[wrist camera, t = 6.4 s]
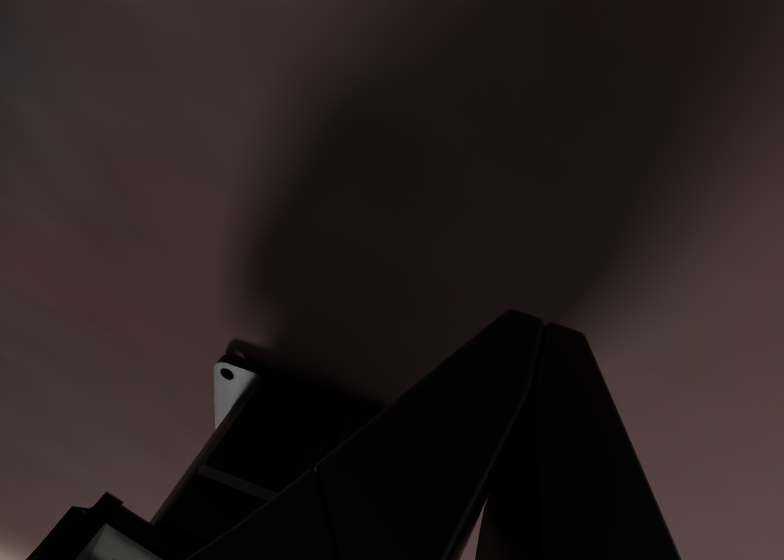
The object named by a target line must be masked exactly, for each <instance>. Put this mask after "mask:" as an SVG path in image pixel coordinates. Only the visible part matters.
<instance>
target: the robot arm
mask: <svg viewBox="0 0 784 560" xmlns="http://www.w3.org/2000/svg"><path fill="white" fill-rule="evenodd" d="M544 326H545V327H544ZM214 401H215V432H214V433H213V435H212V436H211V437H210V439H209V440H208V442H207V443H206V444H205V446H204V447H203V448H202V450H201V451H200V453H199V454H198V455H197V457H196V458H195V460H194V461H193V462H192V464H191V465H190V467H189V468H188V469H187V471H186V472H185V474H184V475H183V476H182V478H181V479H180V481H179V482H178V483H177V485H176V486H175V488H174V489H173V490H172V492H171V493H170V494H169V496H168V497H167V499H166V500H165V501H164V503H163V504H162V506H161V507H160V508H159V510H158V511H157V513H156V514H155V515H154V517H153V518H152V520H151V521H150V522H147V521H146V520H144V519H142V518H141V517H139V516H138V515H136V514H135V513H133V512H132V511H130V510H128V509H127V508H125V507H124V506H122V504H123V501H121V500H119V499H118V498H116V497H115V496H113V495H112V494H110V493H109V492H106V493H105V494H104V495H103V496H102V497H101V498H100V499H99V501H98V502H97V503H96V504H95V505H94V506H93V507H91V508H82V507H74V506H72V507H71V508H70V509H69V510H68V512H67V513H66V514H65V515H64V516H63V518H62V519H61V520H60V521H59V522H58V524H57V525H56V526H55V527H54V528H53V529H52V531H51V532H50V533H49V534H48V535H47V537H46V538H45V539H44V540H43V541H42V542H41V544H40V545H39V546H38V547H37V548H36V549H35V550H34V551H33V553H32V554H31V555H30V556H29V557H28V558H27V559H26V560H460V558H461V556H462V554H463V551H464V549H465V547H466V545H467V543H468V540H469V538H470V536H471V534H472V532H473V529H474V527H475V525H476V522H477V520H478V518H479V515H480V513H481V510H482V508H483V506H484V503H485V501H486V504H485V507H484V512H483V517H482V522H481V527H480V533H479V539H478V545H477V551H476V557H475V560H681V557H680V555H679V553H678V550H677V548H676V546H675V543H674V541H673V539H672V536H671V534H670V532H669V529H668V527H667V525H666V522H665V520H664V518H663V515H662V513H661V511H660V508H659V506H658V504H657V501H656V499H655V497H654V494H653V492H652V490H651V487H650V485H649V483H648V480H647V478H646V476H645V473H644V471H643V469H642V466H641V464H640V462H639V459H638V457H637V455H636V452H635V450H634V448H633V445H632V443H631V441H630V438H629V436H628V434H627V431H626V429H625V427H624V424H623V422H622V420H621V417H620V415H619V413H618V410H617V408H616V406H615V403H614V401H613V399H612V397H611V394H610V392H609V390H608V387H607V385H606V383H605V380H604V378H603V376H602V373H601V371H600V369H599V366H598V364H597V362H596V359H595V357H594V355H593V352H592V350H591V348H590V345H589V343H588V341H587V338H586V336H585V335H584V334H583V333H581V332H579V331H576V330H573V329H571V328H568V327H565V326H562V325H559V324H556V323H552V322H551V323H548V324H546V325H544V321H543V320H542V319H540V318H538V317H535V316H532V315H529V314H526V313H523V312H521V311H518V310H514V309H509V310H507V311H505V312H504V313H503V314H501V315H500V316H499V317H498V318H496V319H495V320H494V321H493V322H492V323H490V324H489V325H488V326H487V327H485V328H484V329H483V330H482V331H480V332H479V333H478V334H477V335H475V336H474V337H473V338H472V339H470V340H469V341H468V342H467V343H466V344H464V345H463V346H462V347H461V348H459V349H458V350H457V351H456V352H454V353H453V354H452V355H451V356H449V357H448V358H447V359H446V360H444V361H443V362H442V363H441V364H440V365H438V366H437V367H436V368H435V369H433V370H432V371H431V372H430V373H428V374H427V375H426V376H425V377H423V378H422V379H421V380H420V381H418V382H417V383H416V384H415V385H413V386H412V387H411V388H410V389H409V390H407V391H406V392H405V393H404V394H402V395H401V396H400V397H399V398H397V399H396V400H395V401H394V402H392V403H391V404H390V405H389V406H387V407H386V408H385V409H383V408H380V407H377V406H374V405H371V404H369V403H366V402H363V401H360V400H357V399H354V398H352V397H349V396H346V395H343V394H340V393H338V392H335V391H332V390H329V389H326V388H323V387H321V386H318V385H315V384H312V383H309V382H307V381H304V380H301V379H298V378H295V377H292V376H290V375H287V374H284V373H281V372H278V371H276V370H273V369H270V368H267V367H264V366H261V365H259V364H256V363H253V362H250V361H247V360H245V359H242V358H239V357H236V356H233V355H228V354H227V355H223V356H222V357H221V358H220V359H219V360H218V362H217V363H216V364H215V365H214ZM486 499H487V500H486Z"/></svg>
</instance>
